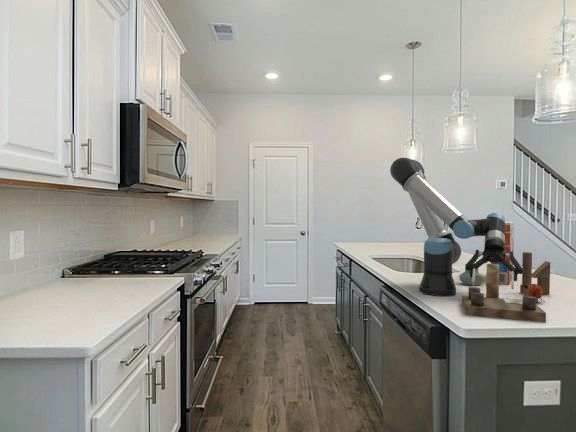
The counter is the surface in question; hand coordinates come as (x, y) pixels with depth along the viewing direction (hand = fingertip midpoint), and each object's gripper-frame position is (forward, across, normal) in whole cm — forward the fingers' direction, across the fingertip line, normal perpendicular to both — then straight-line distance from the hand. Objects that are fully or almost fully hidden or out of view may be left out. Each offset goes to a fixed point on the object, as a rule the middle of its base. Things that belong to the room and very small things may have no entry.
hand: (492, 285), depth 155 cm
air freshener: (-22, +10, -33) cm, 41 cm away
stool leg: (+4, 0, -7) cm, 8 cm away
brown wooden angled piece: (-16, -15, -27) cm, 35 cm away
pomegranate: (-4, -14, -14) cm, 21 cm away
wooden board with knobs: (+14, -3, +4) cm, 15 cm away
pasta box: (-36, -2, -47) cm, 59 cm away
